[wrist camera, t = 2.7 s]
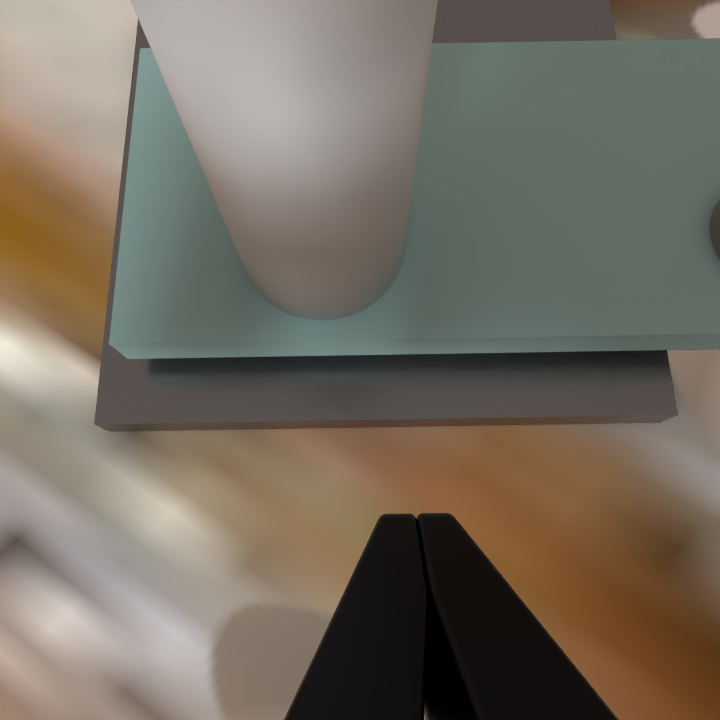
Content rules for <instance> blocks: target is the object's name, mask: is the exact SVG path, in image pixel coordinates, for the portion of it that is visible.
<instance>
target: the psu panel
mask: <svg viewBox="0 0 720 720" xmlns="http://www.w3.org/2000/svg"><path fill="white" fill-rule="evenodd" d="M601 40H616V38H615V32H614V26H613V20H612V14H611V8H610V2H609V0H438V2H437V10H436V17H435V25H434V32H433V40H432V43H484V42H542V41H601ZM140 48H151V47H150V45H149V43H148V40H147V38H146V36H145V33H144V31H143V29H142V26H141V24H140V21H139V19H138V26H137V35H136V45H135V54H134V63H133V72H132V82H131V91H130V100H129V109H128V118H127V128H126V137H125V146H124V155H123V165H122V174H121V183H120V192H119V202H118V211H117V220H116V229H115V238H114V248H113V257H112V266H111V275H110V285H109V294H108V303H107V312H106V322H105V331H104V340H103V349H102V358H101V368H100V377H99V386H98V395H97V405H96V414H95V423H94V424H95V425H97V426H99V427H101V428H103V429H105V430H107V431H165V430H226V429H288V428H349V427H410V426H472V425H533V424H594V423H655V422H662V421H664V420H667V419H669V418H671V417H674V416H676V415H677V409H676V403H675V397H674V391H673V385H672V379H671V373H670V367H669V361H668V355H667V350H638V351H577V352H517V353H456V354H395V355H334V356H274V357H213V358H152V359H127V358H126V357H124V356H123V355H122V354H121V353H119V352H118V351H117V350H116V349H115V348H113V347H112V346H111V345H110V344H109V339H110V329H111V320H112V310H113V301H114V291H115V282H116V272H117V263H118V253H119V244H120V234H121V225H122V215H123V206H124V197H125V187H126V178H127V168H128V159H129V149H130V140H131V130H132V121H133V111H134V102H135V92H136V83H137V73H138V64H139V54H140Z"/></svg>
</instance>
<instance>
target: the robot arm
mask: <svg viewBox="0 0 720 720" xmlns="http://www.w3.org/2000/svg"><path fill="white" fill-rule="evenodd" d="M424 714H425V720H619V719H618V718H617V717H616V716H615V715H614V713H613V712H612V711H611V710H610V708H609V707H608V706H607V705H606V703H605V702H604V701H603V700H602V699H601V697H600V696H599V695H598V694H597V692H596V691H595V690H594V689H593V687H592V686H591V685H590V684H589V682H588V681H587V680H586V679H585V678H584V676H583V675H582V674H581V673H580V671H579V670H578V669H577V668H576V666H575V665H574V664H573V663H572V662H571V660H570V659H569V658H568V657H567V655H566V654H565V653H564V652H563V650H562V649H561V648H560V647H559V646H558V644H557V643H556V642H555V641H554V639H553V638H552V637H551V636H550V634H549V633H548V632H547V631H546V629H545V628H544V627H543V626H542V625H541V623H540V622H539V621H538V620H537V618H536V617H535V616H534V615H533V613H532V612H531V611H530V610H529V609H528V607H527V606H526V605H525V604H524V602H523V601H522V600H521V599H520V597H519V596H518V595H517V594H516V593H515V591H514V590H513V589H512V588H511V586H510V585H509V584H508V583H507V581H506V580H505V579H504V578H503V576H502V575H501V574H500V573H499V572H498V570H497V569H496V568H495V567H494V565H493V564H492V563H491V562H490V560H489V559H488V558H487V557H486V556H485V554H484V553H483V552H482V551H481V549H480V548H479V547H478V546H477V544H476V543H475V542H474V541H473V540H472V538H471V537H470V536H469V535H468V533H467V532H466V531H465V530H464V528H463V527H462V526H461V525H460V523H459V522H458V521H457V520H456V519H455V517H454V516H452V515H451V514H449V513H422V514H420V515H418V517H417V518H415V516H414V515H412V514H384V515H382V516H381V517H380V518H379V519H378V521H377V523H376V525H375V528H374V530H373V532H372V534H371V536H370V538H369V540H368V542H367V545H366V547H365V549H364V551H363V553H362V555H361V557H360V559H359V561H358V564H357V566H356V568H355V570H354V572H353V574H352V576H351V578H350V581H349V583H348V585H347V587H346V589H345V591H344V593H343V595H342V598H341V600H340V602H339V604H338V606H337V608H336V610H335V612H334V615H333V617H332V619H331V621H330V623H329V625H328V627H327V629H326V631H325V634H324V636H323V638H322V640H321V642H320V644H319V646H318V649H317V651H316V653H315V655H314V657H313V659H312V661H311V663H310V666H309V668H308V670H307V672H306V674H305V676H304V678H303V680H302V682H301V685H300V687H299V689H298V691H297V693H296V695H295V697H294V699H293V702H292V704H291V706H290V708H289V710H288V712H287V714H286V717H285V719H284V720H424Z"/></svg>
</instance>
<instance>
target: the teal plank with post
mask: <svg viewBox="0 0 720 720" xmlns="http://www.w3.org/2000/svg"><path fill="white" fill-rule="evenodd" d="M437 2H438V0H131V3H132V5H133V7H134V10H135V12H136V14H137V17H138V19H139V21H140V24H141V26H142V29H143V31H144V33H145V36H146V38H147V40H148V43H149V45H150V47H151V48H140V54H139V64H138V73H137V83H136V92H135V102H134V111H133V121H132V130H131V140H130V149H129V159H128V168H127V178H126V187H125V197H124V206H123V215H122V225H121V234H120V244H119V253H118V263H117V272H116V282H115V291H114V301H113V310H112V320H111V329H110V339H109V344H110V345H111V346H112V347H113V348H115V349H116V350H117V351H118V352H119V353H121V354H122V355H123V356H124V357H126V358H127V359H152V358H213V357H274V356H334V355H395V354H456V353H517V352H577V351H638V350H695V349H697V350H699V349H720V38H718V39H659V40H601V41H542V42H484V43H432V40H433V32H434V25H435V17H436V10H437Z"/></svg>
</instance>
